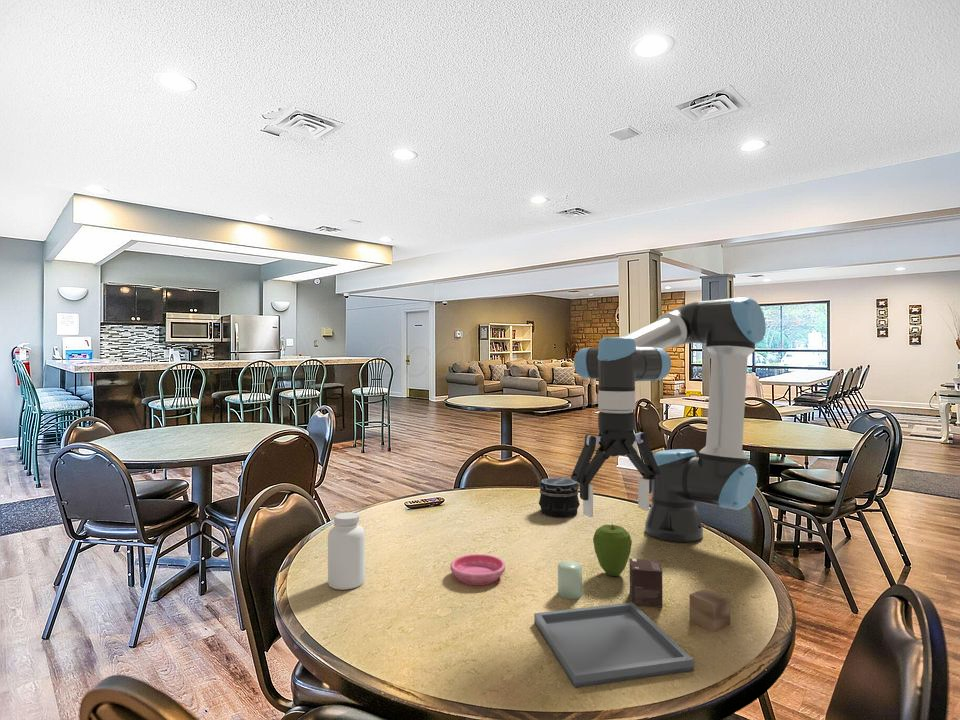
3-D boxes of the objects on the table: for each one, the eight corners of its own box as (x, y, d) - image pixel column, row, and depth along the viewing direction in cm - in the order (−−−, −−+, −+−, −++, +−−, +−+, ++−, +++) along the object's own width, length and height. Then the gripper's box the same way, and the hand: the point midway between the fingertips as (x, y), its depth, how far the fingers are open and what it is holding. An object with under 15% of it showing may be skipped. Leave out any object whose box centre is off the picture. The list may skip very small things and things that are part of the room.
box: (663, 608, 106) (662, 571, 106) (631, 605, 108) (631, 569, 107) (659, 594, 112) (659, 559, 112) (629, 592, 114) (629, 557, 113)
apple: (585, 570, 125) (585, 521, 125) (615, 564, 128) (615, 516, 128) (609, 585, 117) (608, 532, 117) (640, 578, 120) (639, 527, 120)
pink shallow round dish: (478, 562, 131) (478, 549, 131) (516, 577, 122) (516, 563, 122) (439, 577, 122) (439, 563, 122) (477, 594, 113) (477, 579, 113)
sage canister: (576, 587, 116) (576, 559, 116) (585, 598, 111) (585, 569, 111) (554, 589, 115) (554, 562, 115) (562, 600, 110) (562, 571, 110)
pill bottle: (371, 578, 122) (371, 511, 121) (352, 593, 114) (351, 522, 114) (341, 573, 124) (340, 508, 124) (320, 588, 117) (319, 519, 116)
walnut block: (706, 613, 104) (706, 588, 104) (730, 624, 100) (730, 597, 100) (689, 620, 101) (689, 594, 101) (713, 632, 97) (713, 604, 97)
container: (539, 506, 178) (539, 476, 178) (578, 507, 176) (578, 477, 176) (538, 517, 165) (537, 485, 165) (580, 519, 163) (580, 486, 163)
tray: (632, 611, 105) (632, 602, 105) (693, 670, 85) (693, 659, 85) (534, 622, 101) (534, 613, 101) (574, 687, 81) (574, 675, 81)
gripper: (654, 407, 120) (654, 501, 121) (554, 411, 112) (554, 513, 112) (677, 410, 113) (677, 511, 114) (572, 415, 105) (572, 523, 105)
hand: (616, 512), depth 113 cm, fingers open, 13 cm apart
